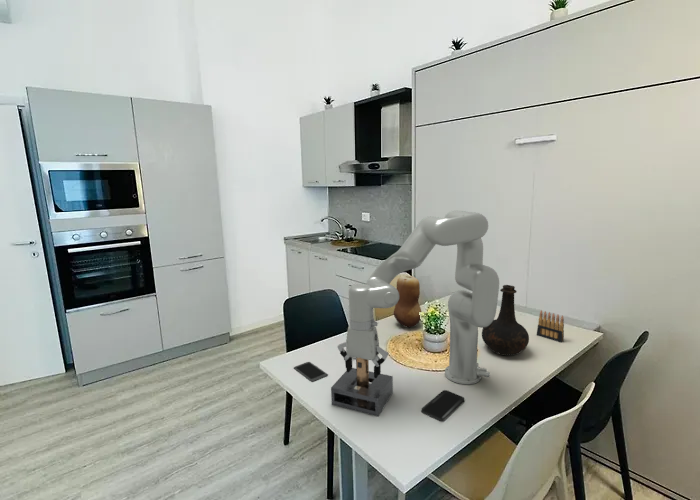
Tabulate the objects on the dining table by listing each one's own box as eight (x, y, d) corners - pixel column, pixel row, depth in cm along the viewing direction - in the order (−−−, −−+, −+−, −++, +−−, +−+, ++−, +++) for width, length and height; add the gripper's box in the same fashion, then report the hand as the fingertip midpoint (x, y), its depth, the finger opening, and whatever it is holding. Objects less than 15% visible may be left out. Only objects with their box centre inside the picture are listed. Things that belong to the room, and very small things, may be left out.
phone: (465, 398, 117) (442, 420, 107) (465, 401, 117) (442, 423, 107) (444, 389, 123) (419, 409, 112) (443, 392, 123) (419, 412, 112)
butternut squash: (426, 324, 180) (427, 275, 176) (412, 333, 170) (412, 281, 166) (403, 318, 189) (403, 271, 185) (388, 326, 179) (387, 277, 175)
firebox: (392, 392, 123) (392, 375, 122) (378, 416, 110) (378, 398, 109) (349, 382, 129) (349, 366, 128) (331, 404, 117) (331, 387, 116)
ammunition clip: (536, 335, 165) (538, 310, 163) (538, 334, 166) (540, 309, 164) (561, 342, 157) (563, 316, 154) (563, 341, 158) (565, 315, 156)
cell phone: (312, 383, 130) (312, 381, 130) (292, 368, 141) (292, 367, 141) (328, 376, 135) (328, 374, 135) (309, 362, 146) (308, 361, 145)
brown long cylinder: (360, 393, 122) (358, 349, 120) (371, 396, 121) (370, 351, 118) (354, 401, 118) (353, 355, 116) (366, 404, 117) (365, 357, 114)
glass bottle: (478, 340, 161) (480, 279, 156) (521, 342, 158) (525, 280, 153) (484, 359, 144) (487, 291, 139) (533, 362, 141) (538, 292, 136)
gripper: (391, 322, 115) (391, 372, 118) (342, 316, 122) (344, 363, 125) (383, 331, 108) (384, 384, 111) (331, 324, 115) (334, 373, 119)
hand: (362, 373), depth 118 cm, fingers open, 9 cm apart
